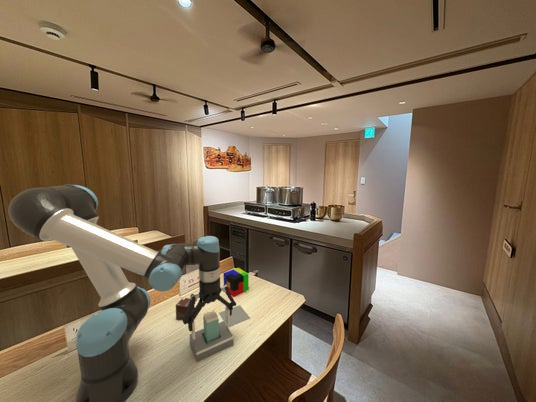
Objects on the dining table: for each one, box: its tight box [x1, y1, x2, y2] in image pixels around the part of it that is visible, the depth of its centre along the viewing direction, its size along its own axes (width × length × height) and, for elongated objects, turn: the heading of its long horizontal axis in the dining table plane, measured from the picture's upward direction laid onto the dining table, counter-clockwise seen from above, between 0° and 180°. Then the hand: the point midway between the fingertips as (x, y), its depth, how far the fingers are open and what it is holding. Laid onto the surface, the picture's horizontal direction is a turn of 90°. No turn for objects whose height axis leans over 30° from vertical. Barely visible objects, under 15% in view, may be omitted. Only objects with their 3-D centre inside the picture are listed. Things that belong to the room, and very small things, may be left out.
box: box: [175, 297, 196, 321], centre depth 97 cm, size 6×6×7 cm
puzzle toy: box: [223, 267, 250, 298], centre depth 120 cm, size 10×10×10 cm
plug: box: [202, 310, 220, 344], centre depth 81 cm, size 4×4×12 cm
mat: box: [218, 305, 251, 328], centre depth 98 cm, size 11×11×1 cm
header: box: [189, 320, 235, 362], centre depth 82 cm, size 14×10×4 cm
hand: (211, 330), depth 82 cm, fingers open, 13 cm apart
